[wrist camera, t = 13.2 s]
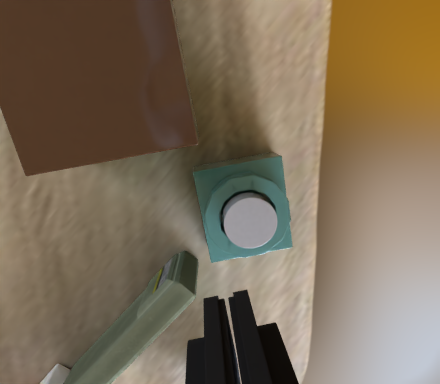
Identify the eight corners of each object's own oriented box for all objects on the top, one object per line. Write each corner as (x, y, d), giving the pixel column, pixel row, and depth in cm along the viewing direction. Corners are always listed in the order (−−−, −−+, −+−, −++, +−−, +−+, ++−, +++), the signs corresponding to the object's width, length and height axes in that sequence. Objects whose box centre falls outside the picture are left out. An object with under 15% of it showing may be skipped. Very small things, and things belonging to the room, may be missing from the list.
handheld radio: (203, 264, 30) (65, 406, 34) (180, 245, 30) (41, 392, 33) (202, 301, 24) (30, 472, 27) (172, 277, 23) (1, 456, 27)
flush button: (218, 197, 24) (219, 203, 22) (268, 187, 24) (274, 193, 22) (227, 244, 25) (228, 253, 23) (275, 234, 25) (280, 243, 23)
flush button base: (193, 166, 28) (191, 176, 23) (272, 151, 28) (287, 158, 23) (210, 248, 30) (211, 272, 25) (283, 234, 30) (299, 256, 25)
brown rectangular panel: (-60, -79, 16) (-73, -89, 15) (148, -113, 16) (145, -125, 15) (32, 174, 19) (25, 176, 19) (198, 143, 20) (198, 144, 19)
